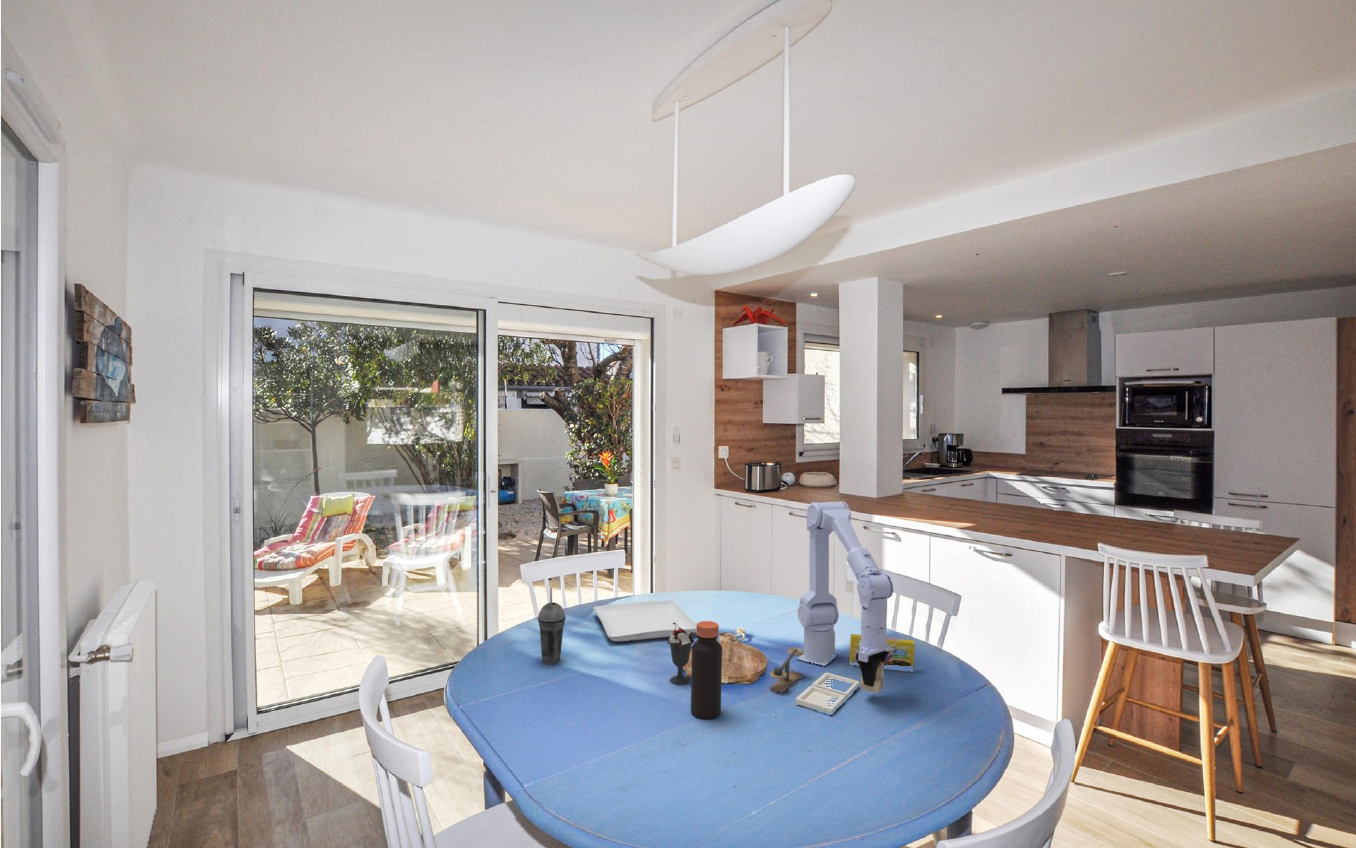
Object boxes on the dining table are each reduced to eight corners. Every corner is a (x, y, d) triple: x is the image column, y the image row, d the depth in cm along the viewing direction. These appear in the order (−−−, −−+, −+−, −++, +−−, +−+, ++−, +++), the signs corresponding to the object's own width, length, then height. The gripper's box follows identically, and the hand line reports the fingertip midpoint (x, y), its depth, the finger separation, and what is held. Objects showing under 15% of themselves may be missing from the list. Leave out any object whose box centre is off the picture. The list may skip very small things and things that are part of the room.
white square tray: (825, 678, 164) (825, 672, 164) (859, 687, 159) (859, 681, 159) (811, 690, 157) (811, 684, 157) (846, 700, 152) (846, 694, 152)
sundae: (661, 683, 160) (662, 623, 159) (674, 673, 166) (675, 615, 165) (685, 689, 157) (686, 627, 156) (697, 678, 163) (698, 619, 162)
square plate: (592, 617, 208) (592, 605, 208) (673, 610, 216) (673, 599, 216) (608, 648, 182) (608, 634, 182) (699, 639, 191) (700, 626, 190)
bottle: (686, 708, 147) (687, 621, 146) (713, 703, 149) (715, 618, 149) (697, 722, 141) (699, 631, 140) (725, 717, 143) (727, 628, 142)
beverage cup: (568, 656, 175) (569, 583, 174) (560, 667, 168) (561, 591, 167) (542, 655, 176) (543, 582, 175) (533, 666, 168) (534, 590, 168)
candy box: (849, 666, 172) (850, 636, 172) (849, 663, 174) (850, 633, 174) (913, 673, 168) (914, 642, 168) (912, 670, 171) (913, 639, 170)
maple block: (866, 682, 155) (867, 658, 155) (882, 687, 153) (883, 662, 153) (860, 688, 152) (861, 663, 152) (877, 693, 150) (878, 668, 150)
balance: (791, 671, 168) (792, 644, 168) (805, 675, 166) (806, 648, 165) (766, 691, 156) (767, 661, 156) (781, 695, 154) (782, 665, 154)
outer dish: (810, 691, 157) (810, 685, 157) (845, 701, 152) (845, 695, 152) (795, 705, 149) (795, 698, 149) (831, 716, 144) (831, 709, 144)
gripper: (881, 638, 144) (879, 698, 144) (899, 620, 156) (898, 676, 156) (850, 631, 148) (848, 689, 148) (871, 614, 160) (869, 668, 160)
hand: (871, 682), depth 153 cm, fingers closed on maple block, 4 cm apart
